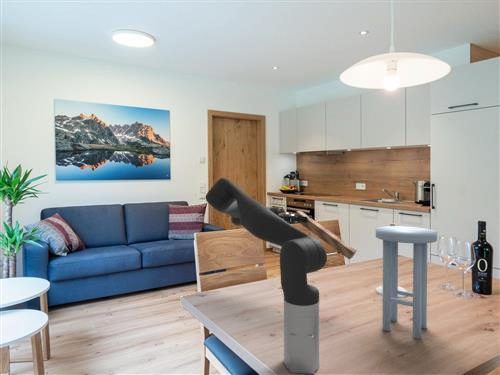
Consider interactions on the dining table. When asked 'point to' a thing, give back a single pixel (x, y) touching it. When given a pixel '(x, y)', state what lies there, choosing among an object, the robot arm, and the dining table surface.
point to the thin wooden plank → (327, 236)
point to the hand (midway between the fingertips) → (309, 219)
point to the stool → (390, 273)
